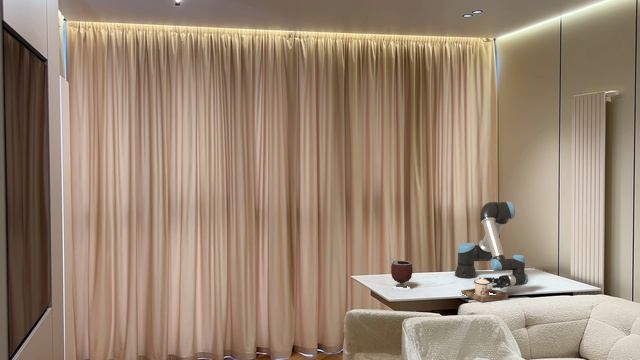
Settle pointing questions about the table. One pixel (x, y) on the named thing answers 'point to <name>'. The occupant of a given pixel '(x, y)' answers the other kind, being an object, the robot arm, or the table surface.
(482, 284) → the teacup with lid
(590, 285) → the table surface
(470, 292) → the tray
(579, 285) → the table surface
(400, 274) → the mate gourd
